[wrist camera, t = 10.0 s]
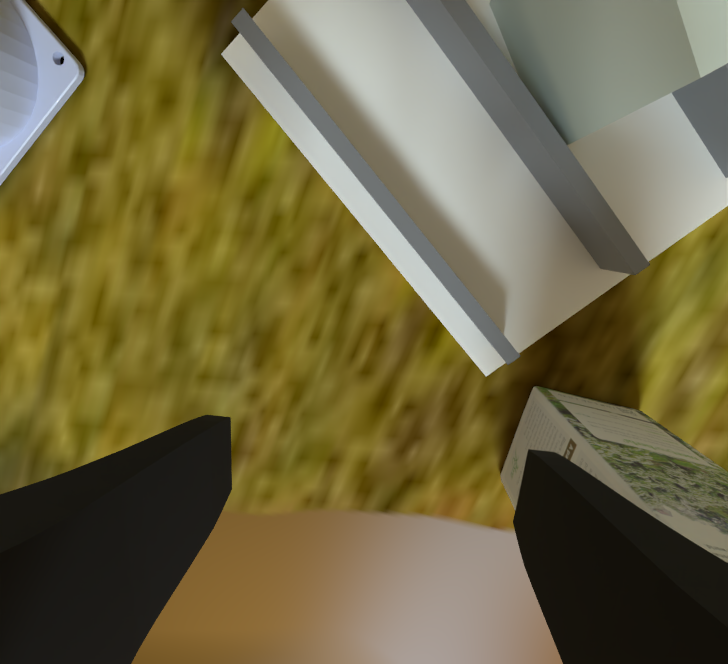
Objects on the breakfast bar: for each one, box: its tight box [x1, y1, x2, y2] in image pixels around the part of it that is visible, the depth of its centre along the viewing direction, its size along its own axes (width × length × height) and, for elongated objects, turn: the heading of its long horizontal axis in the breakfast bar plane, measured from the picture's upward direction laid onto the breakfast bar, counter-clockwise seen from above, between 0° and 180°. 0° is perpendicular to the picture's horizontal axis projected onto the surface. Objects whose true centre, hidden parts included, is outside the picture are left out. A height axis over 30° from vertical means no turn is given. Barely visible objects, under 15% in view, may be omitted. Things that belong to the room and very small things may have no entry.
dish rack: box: [221, 0, 728, 376], centre depth 15 cm, size 18×14×4 cm
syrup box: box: [501, 386, 728, 563], centre depth 13 cm, size 6×6×14 cm
